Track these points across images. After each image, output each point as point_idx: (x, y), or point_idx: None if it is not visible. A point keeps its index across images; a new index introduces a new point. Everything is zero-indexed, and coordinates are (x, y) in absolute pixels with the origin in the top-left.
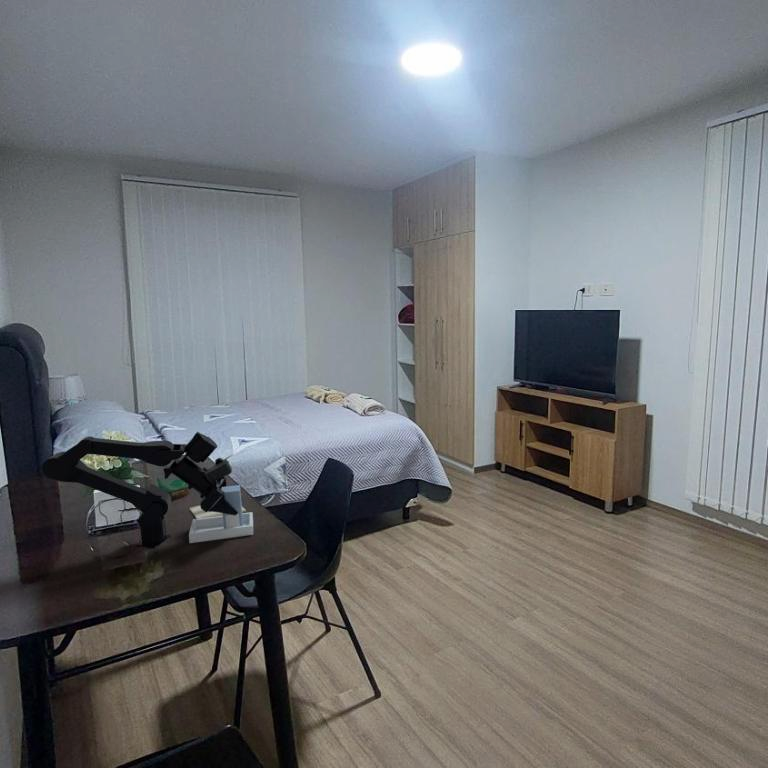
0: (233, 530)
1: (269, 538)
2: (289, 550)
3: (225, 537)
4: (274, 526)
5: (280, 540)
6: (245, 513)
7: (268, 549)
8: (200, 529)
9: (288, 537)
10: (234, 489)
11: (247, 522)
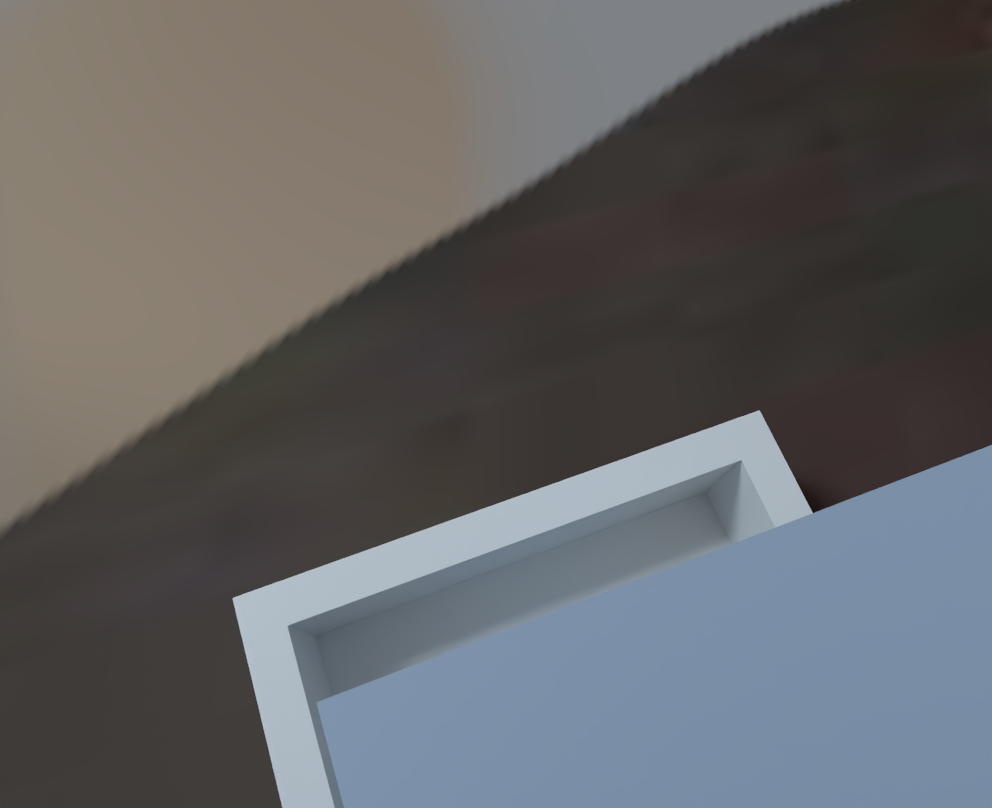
0: None
1: (742, 270)
2: (948, 47)
3: None
4: (432, 308)
5: (770, 162)
6: (283, 701)
7: (978, 210)
8: None
9: (695, 113)
10: (979, 734)
11: (349, 665)
